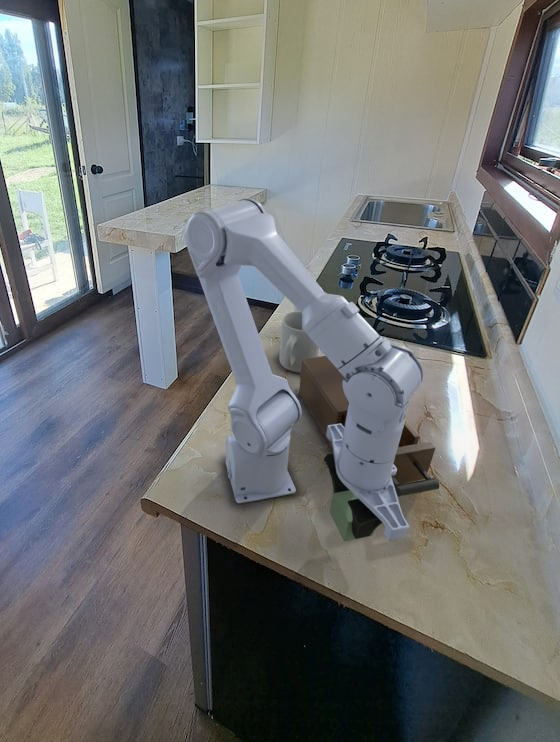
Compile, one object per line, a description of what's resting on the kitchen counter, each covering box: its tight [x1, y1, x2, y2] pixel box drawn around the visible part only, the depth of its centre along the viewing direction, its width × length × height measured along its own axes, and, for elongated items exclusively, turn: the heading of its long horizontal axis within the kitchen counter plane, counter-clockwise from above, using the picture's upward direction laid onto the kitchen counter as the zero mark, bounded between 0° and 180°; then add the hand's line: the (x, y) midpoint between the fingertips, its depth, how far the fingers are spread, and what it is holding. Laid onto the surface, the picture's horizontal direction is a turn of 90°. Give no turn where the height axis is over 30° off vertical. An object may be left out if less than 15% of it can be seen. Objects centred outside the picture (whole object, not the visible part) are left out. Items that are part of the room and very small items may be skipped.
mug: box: [278, 311, 320, 374], centre depth 85 cm, size 12×8×11 cm
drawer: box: [341, 414, 440, 497], centre depth 61 cm, size 18×10×7 cm, turn 10°
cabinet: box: [298, 355, 349, 450], centre depth 71 cm, size 15×12×9 cm
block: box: [329, 490, 375, 543], centre depth 50 cm, size 4×4×4 cm
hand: (352, 517), depth 50 cm, fingers closed on block, 4 cm apart
